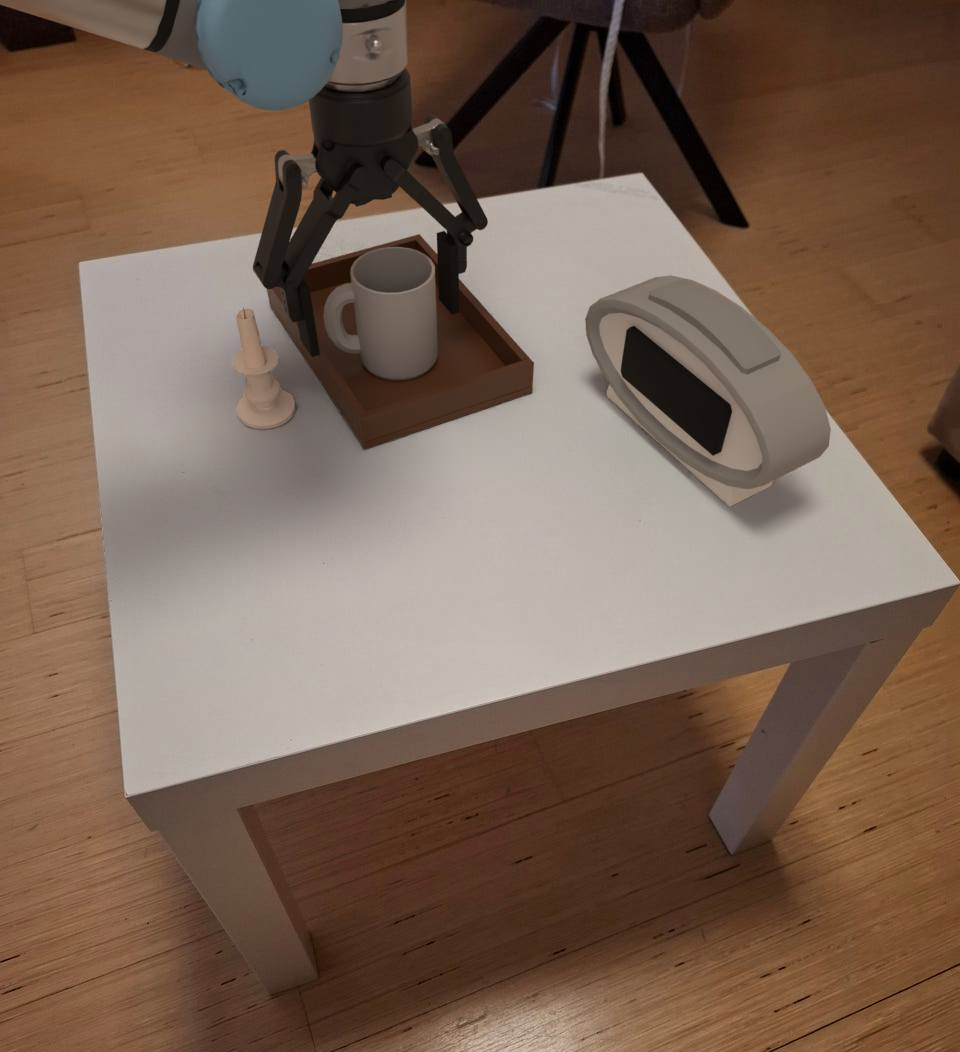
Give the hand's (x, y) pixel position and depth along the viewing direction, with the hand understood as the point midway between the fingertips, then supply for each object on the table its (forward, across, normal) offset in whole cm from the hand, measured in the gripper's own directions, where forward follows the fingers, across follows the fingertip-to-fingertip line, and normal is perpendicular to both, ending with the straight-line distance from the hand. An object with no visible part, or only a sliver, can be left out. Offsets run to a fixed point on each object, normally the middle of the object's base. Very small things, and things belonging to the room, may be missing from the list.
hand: (381, 326), depth 84 cm
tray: (+4, +2, +2) cm, 5 cm away
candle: (+4, -12, -1) cm, 13 cm away
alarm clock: (+4, +19, -21) cm, 29 cm away
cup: (+4, 0, 0) cm, 4 cm away
